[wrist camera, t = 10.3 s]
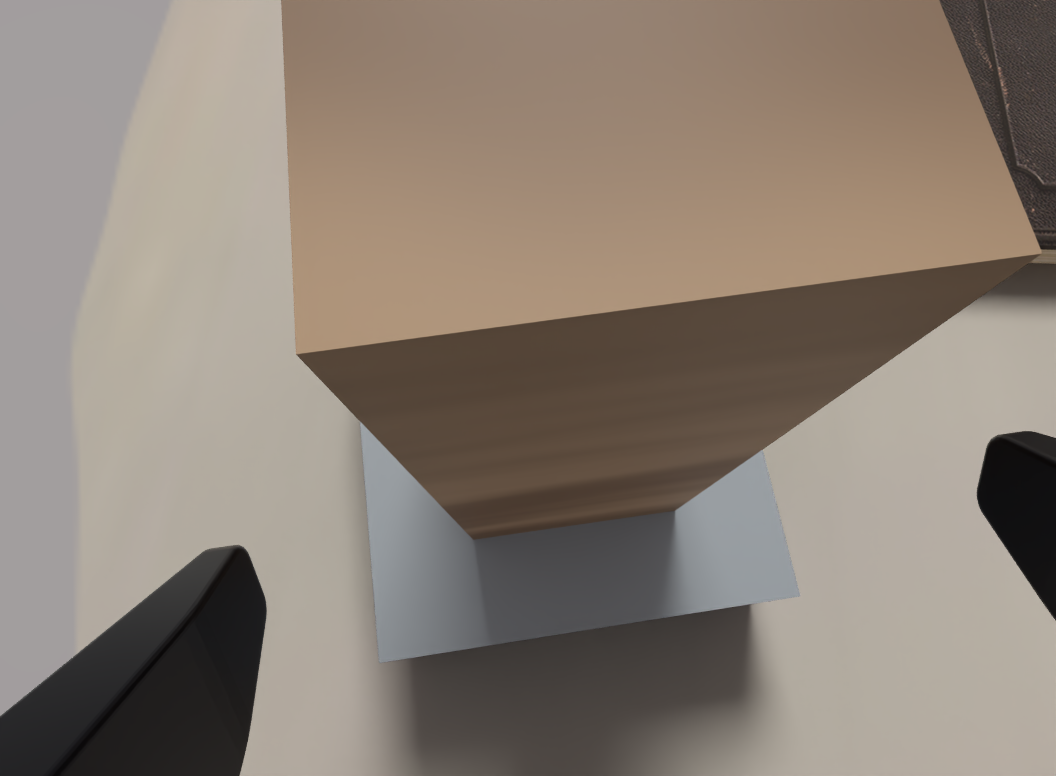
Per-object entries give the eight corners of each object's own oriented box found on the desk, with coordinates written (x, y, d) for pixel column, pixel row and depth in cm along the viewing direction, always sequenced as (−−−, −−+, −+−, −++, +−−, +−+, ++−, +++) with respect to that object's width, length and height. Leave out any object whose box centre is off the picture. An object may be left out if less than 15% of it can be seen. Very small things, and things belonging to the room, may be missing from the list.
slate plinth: (751, 598, 20) (800, 596, 16) (409, 652, 20) (378, 662, 16) (677, 289, 23) (704, 227, 19) (380, 332, 23) (348, 277, 19)
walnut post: (675, 510, 17) (1041, 252, 5) (472, 539, 17) (295, 354, 4) (637, 324, 19) (838, -247, 6) (451, 349, 18) (273, -183, 6)
